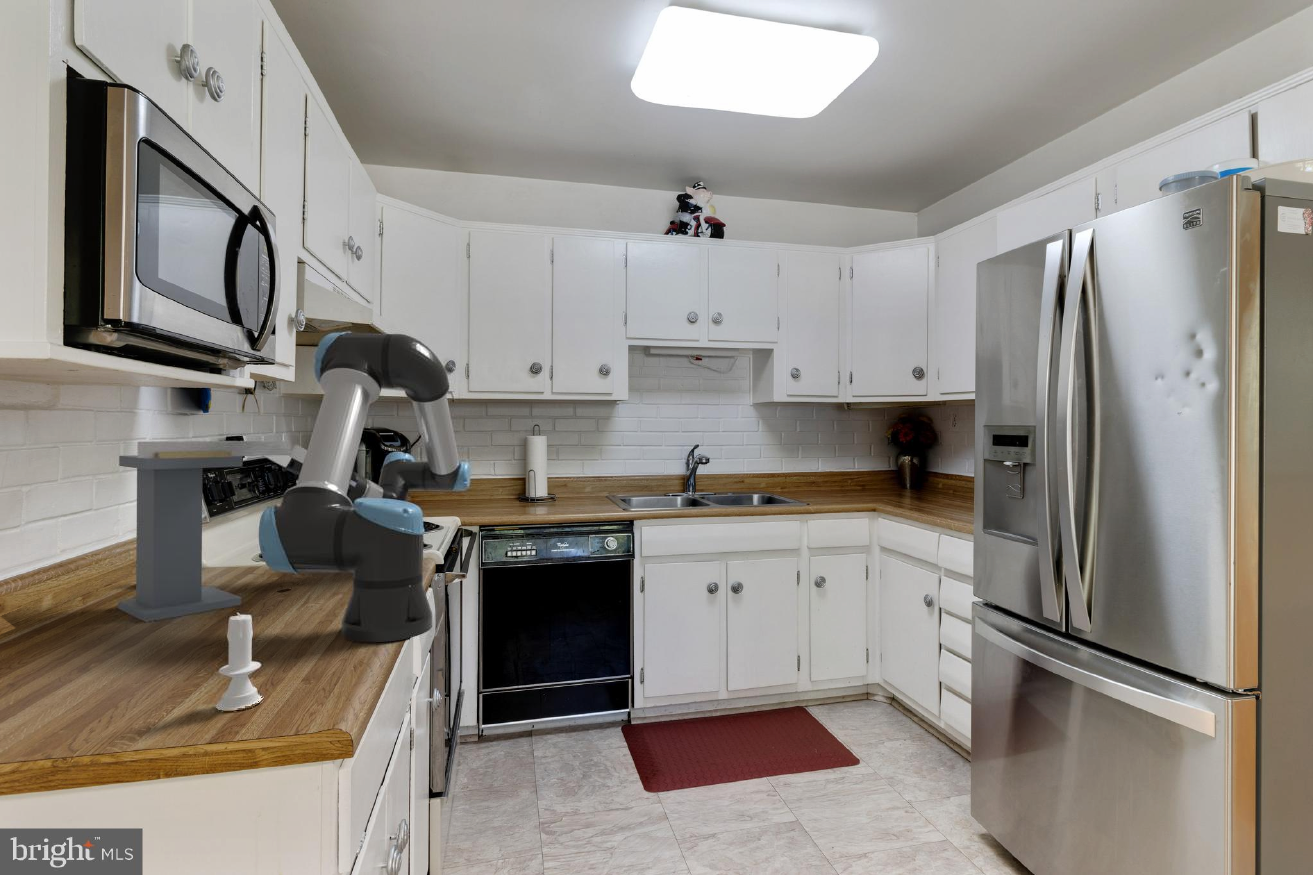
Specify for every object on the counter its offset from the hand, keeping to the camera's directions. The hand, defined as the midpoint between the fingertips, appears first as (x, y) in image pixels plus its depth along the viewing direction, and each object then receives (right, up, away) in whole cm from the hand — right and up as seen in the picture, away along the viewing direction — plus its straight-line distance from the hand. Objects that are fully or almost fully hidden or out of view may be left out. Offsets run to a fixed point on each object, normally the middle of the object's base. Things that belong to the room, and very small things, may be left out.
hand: (276, 449), depth 144 cm
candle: (+27, -33, -56) cm, 71 cm away
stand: (-13, -31, -11) cm, 36 cm away
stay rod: (-6, -1, -9) cm, 11 cm away
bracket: (-9, -1, -13) cm, 16 cm away
